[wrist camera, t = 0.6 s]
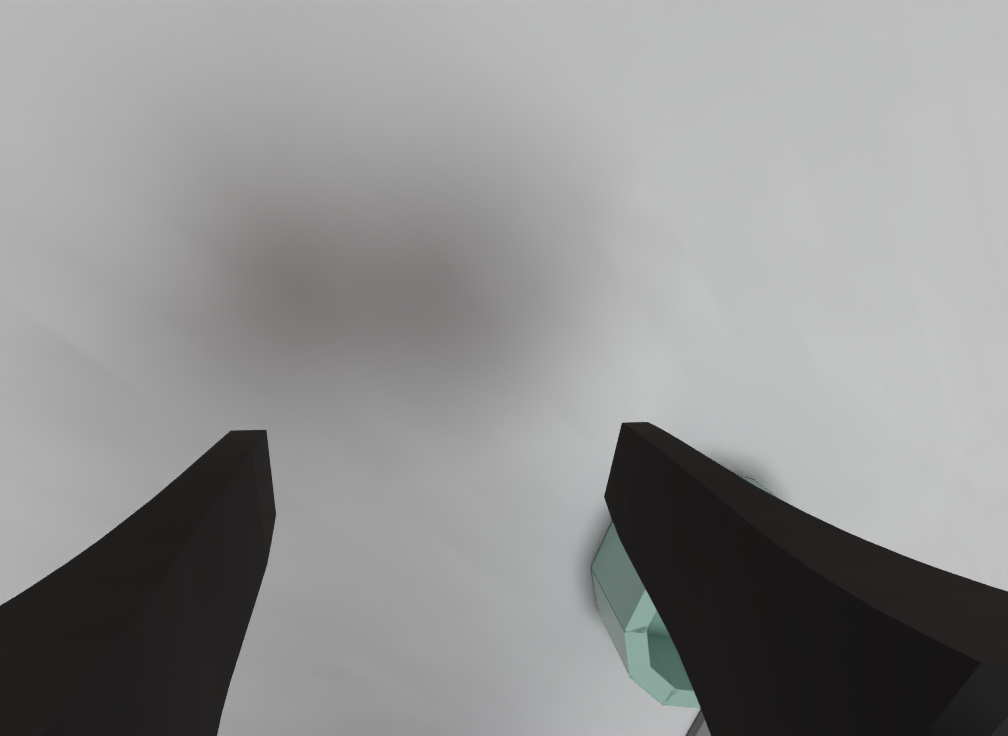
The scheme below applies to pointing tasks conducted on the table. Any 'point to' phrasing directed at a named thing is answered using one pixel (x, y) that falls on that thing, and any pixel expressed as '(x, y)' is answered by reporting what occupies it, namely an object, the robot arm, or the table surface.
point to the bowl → (639, 625)
